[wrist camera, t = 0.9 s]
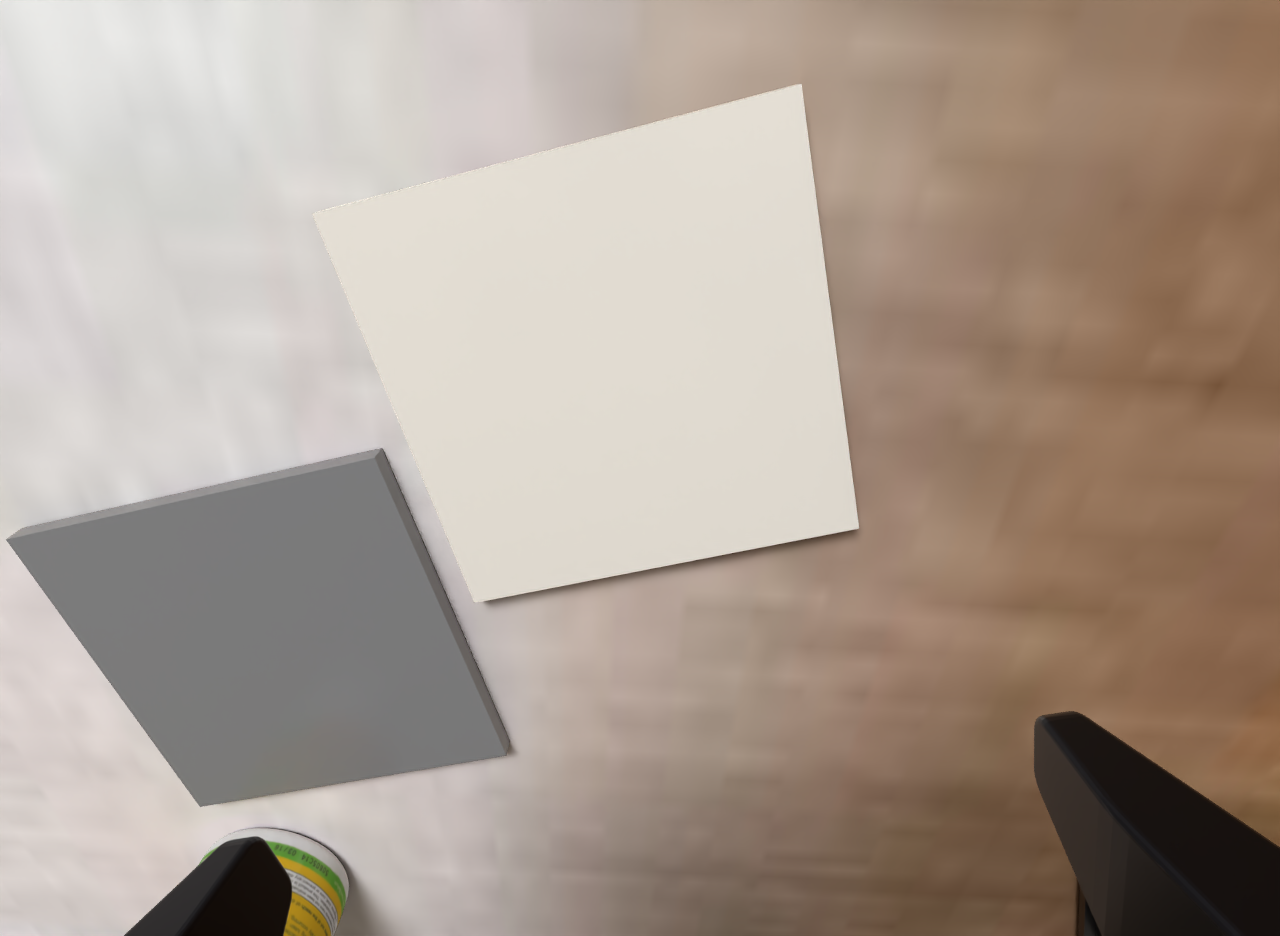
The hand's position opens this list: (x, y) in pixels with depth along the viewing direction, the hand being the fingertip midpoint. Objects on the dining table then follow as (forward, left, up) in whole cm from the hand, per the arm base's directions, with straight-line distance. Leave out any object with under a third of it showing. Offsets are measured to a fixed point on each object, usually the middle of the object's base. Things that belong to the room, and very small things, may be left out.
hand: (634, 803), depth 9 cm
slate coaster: (-5, +13, -12) cm, 18 cm away
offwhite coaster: (+1, +1, -12) cm, 12 cm away
